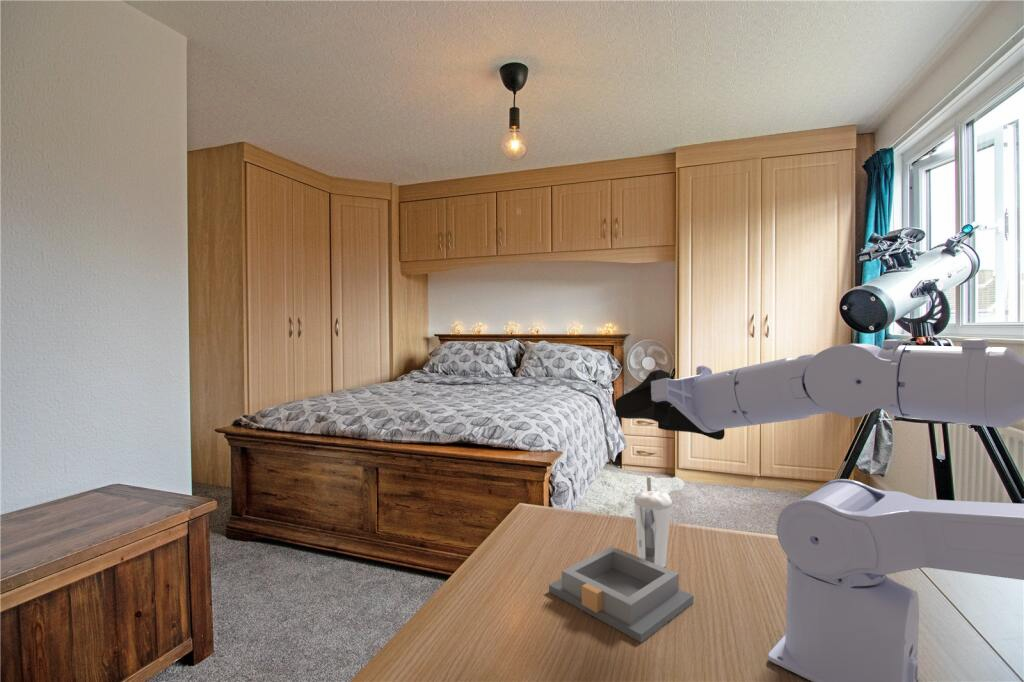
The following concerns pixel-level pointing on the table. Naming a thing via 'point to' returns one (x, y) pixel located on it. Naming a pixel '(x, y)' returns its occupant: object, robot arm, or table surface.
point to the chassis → (623, 592)
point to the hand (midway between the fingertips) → (639, 414)
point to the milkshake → (652, 524)
